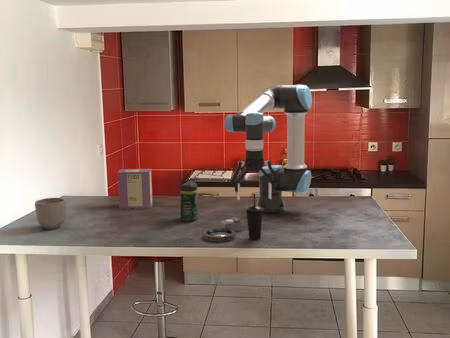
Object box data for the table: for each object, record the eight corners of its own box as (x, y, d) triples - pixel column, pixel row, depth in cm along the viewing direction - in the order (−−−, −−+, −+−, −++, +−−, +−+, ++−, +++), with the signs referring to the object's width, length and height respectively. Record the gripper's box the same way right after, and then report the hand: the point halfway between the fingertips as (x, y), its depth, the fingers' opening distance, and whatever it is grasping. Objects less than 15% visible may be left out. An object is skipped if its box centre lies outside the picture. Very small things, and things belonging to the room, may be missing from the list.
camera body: (236, 227, 245) (236, 217, 245) (241, 230, 240) (241, 220, 239) (220, 229, 243) (220, 218, 242) (225, 232, 237) (224, 222, 236)
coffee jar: (194, 222, 254) (193, 184, 250) (178, 221, 255) (177, 184, 252) (199, 217, 263) (199, 180, 260) (184, 216, 265) (183, 180, 261)
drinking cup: (244, 236, 231) (244, 191, 227) (262, 235, 232) (262, 191, 228) (247, 241, 224) (246, 195, 220) (264, 240, 224) (264, 195, 221)
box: (152, 204, 291) (151, 168, 287) (150, 208, 282) (149, 171, 278) (122, 204, 290) (120, 169, 287) (119, 209, 281) (117, 172, 278)
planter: (39, 233, 239) (37, 205, 237) (34, 226, 251) (32, 199, 249) (70, 229, 245) (68, 202, 243) (64, 222, 257) (62, 196, 255)
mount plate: (233, 231, 238) (233, 227, 237) (237, 241, 224) (237, 236, 223) (202, 233, 236) (202, 228, 236) (204, 242, 223) (204, 237, 222)
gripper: (281, 147, 226) (281, 196, 229) (224, 148, 223) (224, 197, 227) (285, 150, 218) (284, 199, 222) (225, 151, 216) (226, 201, 219)
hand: (254, 198), depth 224 cm, fingers open, 13 cm apart
